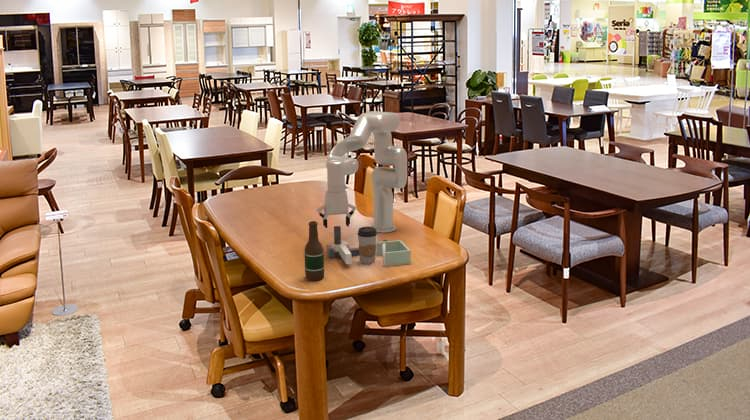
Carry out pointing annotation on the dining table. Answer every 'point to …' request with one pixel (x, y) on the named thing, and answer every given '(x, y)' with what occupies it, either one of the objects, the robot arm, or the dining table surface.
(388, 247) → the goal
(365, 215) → the dining table surface
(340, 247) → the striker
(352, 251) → the rail
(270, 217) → the dining table surface
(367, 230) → the coffee cup
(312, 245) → the beer bottle
